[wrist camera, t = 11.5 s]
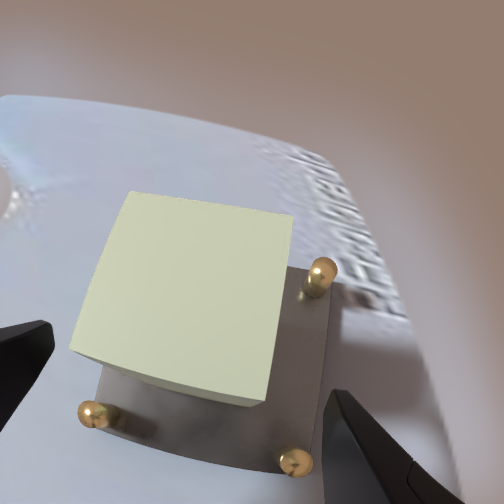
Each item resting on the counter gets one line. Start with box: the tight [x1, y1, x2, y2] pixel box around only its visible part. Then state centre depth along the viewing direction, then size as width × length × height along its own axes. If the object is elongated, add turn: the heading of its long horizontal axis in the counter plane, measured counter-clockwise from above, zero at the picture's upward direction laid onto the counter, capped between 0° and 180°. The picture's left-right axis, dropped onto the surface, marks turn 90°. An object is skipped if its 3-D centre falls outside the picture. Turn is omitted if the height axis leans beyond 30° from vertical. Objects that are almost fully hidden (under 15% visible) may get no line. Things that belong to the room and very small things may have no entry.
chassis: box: [78, 257, 337, 478], centre depth 16 cm, size 12×12×3 cm
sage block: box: [69, 191, 294, 407], centre depth 12 cm, size 5×5×10 cm
